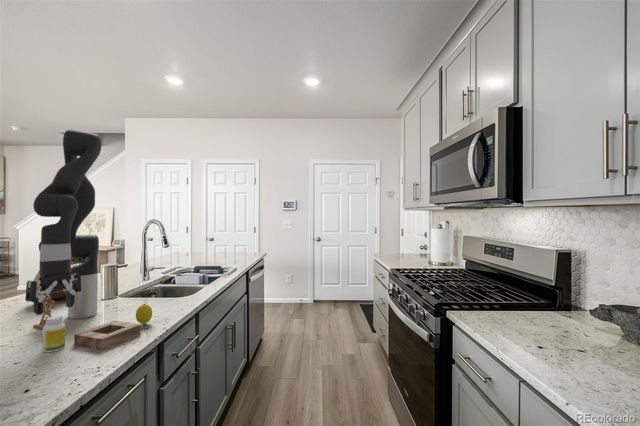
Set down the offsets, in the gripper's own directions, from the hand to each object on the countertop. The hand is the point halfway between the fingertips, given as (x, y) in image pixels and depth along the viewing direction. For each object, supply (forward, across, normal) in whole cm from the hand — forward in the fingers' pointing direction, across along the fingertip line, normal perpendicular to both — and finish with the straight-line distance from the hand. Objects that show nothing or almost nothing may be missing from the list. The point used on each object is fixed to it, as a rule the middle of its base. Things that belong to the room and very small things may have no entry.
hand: (54, 310), depth 98 cm
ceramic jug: (+11, -35, -57) cm, 68 cm away
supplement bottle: (+12, 0, 0) cm, 12 cm away
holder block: (+12, -11, +9) cm, 19 cm away
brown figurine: (+12, -12, -23) cm, 29 cm away
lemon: (+12, -26, +8) cm, 30 cm away
